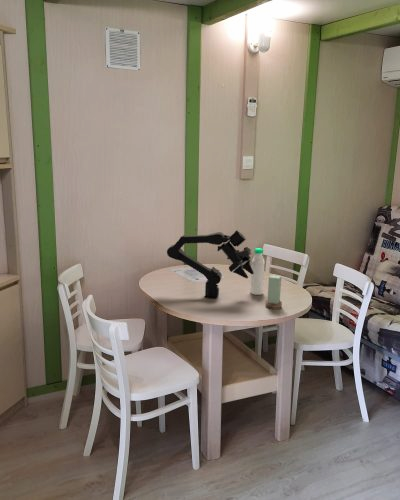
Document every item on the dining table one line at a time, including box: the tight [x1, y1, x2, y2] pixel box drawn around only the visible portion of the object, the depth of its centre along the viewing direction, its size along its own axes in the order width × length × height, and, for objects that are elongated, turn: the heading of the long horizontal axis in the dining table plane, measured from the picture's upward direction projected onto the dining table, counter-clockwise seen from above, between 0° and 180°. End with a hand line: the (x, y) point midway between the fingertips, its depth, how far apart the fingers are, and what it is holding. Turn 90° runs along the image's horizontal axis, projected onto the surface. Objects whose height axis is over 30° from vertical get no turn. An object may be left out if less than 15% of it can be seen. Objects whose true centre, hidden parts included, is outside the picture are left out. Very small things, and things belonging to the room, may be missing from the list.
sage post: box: [267, 274, 282, 304], centre depth 236 cm, size 5×5×13 cm
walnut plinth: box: [265, 299, 283, 310], centre depth 237 cm, size 8×8×2 cm
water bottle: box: [249, 247, 266, 296], centre depth 256 cm, size 7×7×25 cm
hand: (250, 275), depth 242 cm, fingers open, 9 cm apart
